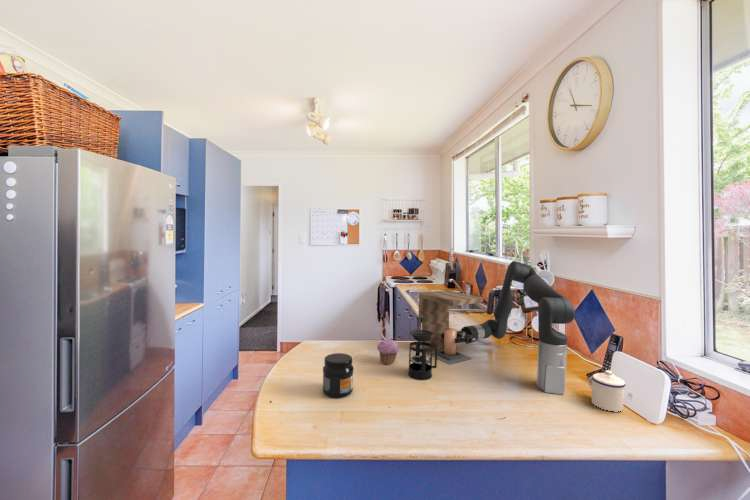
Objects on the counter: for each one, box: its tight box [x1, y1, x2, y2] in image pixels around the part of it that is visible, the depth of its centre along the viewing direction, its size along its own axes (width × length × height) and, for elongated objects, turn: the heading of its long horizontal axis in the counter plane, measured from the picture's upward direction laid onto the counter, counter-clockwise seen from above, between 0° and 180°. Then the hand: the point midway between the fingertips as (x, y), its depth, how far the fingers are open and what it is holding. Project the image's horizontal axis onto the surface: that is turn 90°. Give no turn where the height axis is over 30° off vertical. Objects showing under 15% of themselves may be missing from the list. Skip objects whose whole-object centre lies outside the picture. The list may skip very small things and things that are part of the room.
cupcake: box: [377, 339, 399, 366], centre depth 144 cm, size 9×9×10 cm
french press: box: [407, 316, 438, 381], centre depth 132 cm, size 12×9×23 cm
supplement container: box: [322, 352, 355, 399], centre depth 116 cm, size 10×10×12 cm
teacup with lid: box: [587, 369, 626, 413], centre depth 112 cm, size 12×9×12 cm
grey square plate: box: [427, 349, 473, 365], centre depth 153 cm, size 14×14×2 cm
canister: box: [443, 327, 458, 357], centre depth 153 cm, size 6×6×12 cm
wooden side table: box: [417, 290, 484, 354], centre depth 153 cm, size 18×22×28 cm
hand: (448, 338), depth 152 cm, fingers open, 8 cm apart
